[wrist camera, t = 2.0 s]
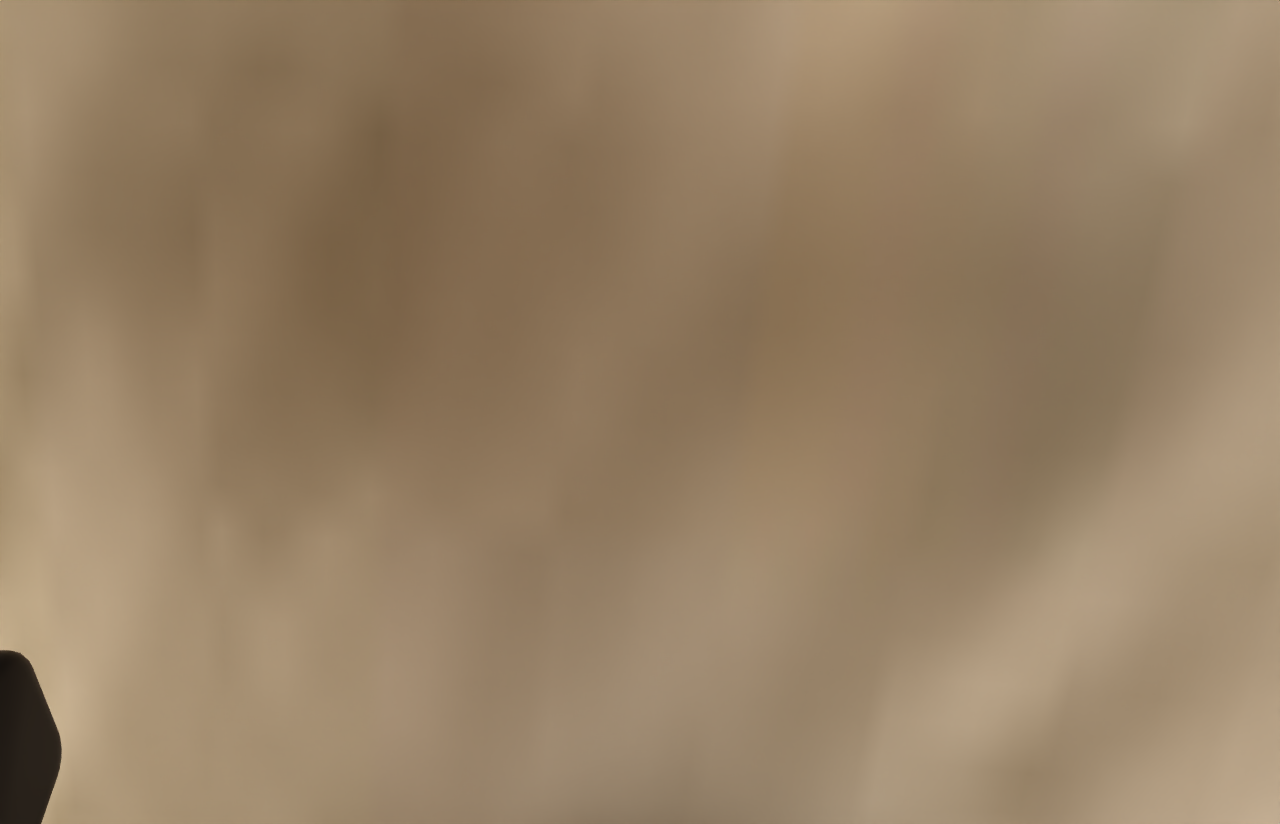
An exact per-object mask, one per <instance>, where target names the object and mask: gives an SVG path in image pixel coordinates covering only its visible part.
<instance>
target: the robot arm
mask: <svg viewBox="0 0 1280 824" xmlns="http://www.w3.org/2000/svg"><path fill="white" fill-rule="evenodd" d="M61 750H62V748H61V740H60V735H59V732H58V729H57V727H56V724H55V722H54V719H53V717H52V714H51V712H50V709H49V707H48V704H47V702H46V699H45V697H44V694H43V692H42V689H41V687H40V684H39V682H38V679H37V677H36V674H35V672H34V669H33V667H32V665H31V663H30V662H29V660H28V659H26V658H25V657H24V656H23V655H22V654H21V653H18V652H14V651H8V650H0V824H41V822H42V820H43V817H44V814H45V811H46V808H47V805H48V802H49V799H50V796H51V794H52V791H53V788H54V785H55V782H56V779H57V776H58V772H59V769H60V763H61Z"/></svg>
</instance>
